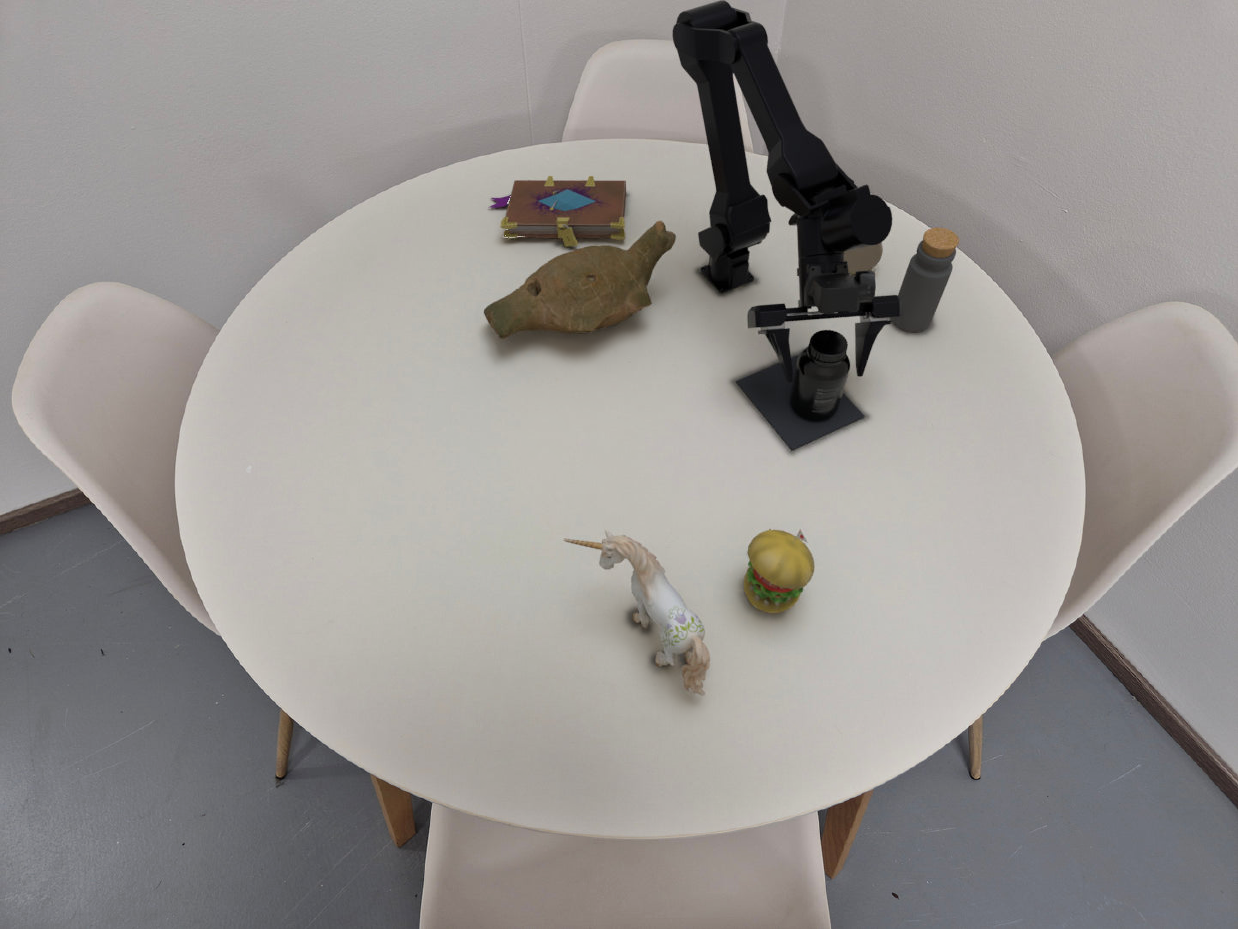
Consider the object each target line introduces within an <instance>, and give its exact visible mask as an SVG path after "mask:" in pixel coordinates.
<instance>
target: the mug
mask: <svg viewBox="0 0 1238 929" xmlns="http://www.w3.org/2000/svg"><path fill="white" fill-rule="evenodd" d="M883 247H884V246H883V242H881V243H880V244H877V245H873V246H868V247H864V248H859V249H855V250H850V251H844V260H845V261H847V265H848V272H849V274H851V275H855V274H856V272H857V271H866V270H872V269H873V268H875V267H876V266H877V265H878V263H880V261H881V259H882V256H883V251H884V248H883Z"/></svg>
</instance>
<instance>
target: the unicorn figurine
mask: <svg viewBox="0 0 1238 929" xmlns="http://www.w3.org/2000/svg"><path fill="white" fill-rule="evenodd" d="M604 533H605V536H606V538H603V539H602V540H601V543H600V542H595V541H588V540H579V539H574V538H573V539H571V538H563V539H562V540H563V542H565V543H568V544H573V545H577V546H581V547H585V548H590V549H595V550H598V551H599V550H600V551H601V553H600V556H599V560H598V564H599V567H601V568H602V569H603V570H611V569H613V568H615V564H616V565H618V564H621V563H622V562H623V561H624V560H627V561H628V562H629V563H630V565H631V567H632V569H633V571H632V574H631V576H630V582H631V584H630V587H631V588H630V590H631V594H632V596H633V597H634V598H635V601H636V607H637V610H638V612H634V613H633V615H632V619H633V621H634V622H635V623H636V624H639V623H641V626H642V628H644V629H648V626H649V623H650V620H652V621H653V622H654V623H655V624H656V625H657V626H658V627H660V633H659V637H660V642H661V643H662V645H663V651H661V650H658V651H657V652H656V655H655V660H654V663H655V665H656V666H657V667H662V666H668V665H671V666H672V667H675V666H676V664H677V663H676V654H679V655H680V654H683V657H684V660H685V662H686V664H683V665H682V667H681V671H682V678H683V688H684V689H685V691H686V692H689V691H690V689H691V691H692V693H694V694H698V695H699V696H702V697H703V696H705V695H706V691H704V690H703V688H704V683H703V681H705V680H706V677H707V676H706V673H707V671H708V669H709V668H710V661H711V655H710V650H709V648H708V647H707V645H706V644H705V643H704V642H703V641H704V638H705V635H706V632H705V631H706V630H705V626H704V624H703V622H702V620H701V619H700V618H699V616H698V615H697V614H696V613H695V612H694V611H692V610H691V609H689V608H688V607H687V605H686V603H685V601H684V599H683V597H682V596H681V595H680V593H679V592H678V591H677V590H676V588H675V587H674V586H673V585H672V584H671V583H670V582H669V580H668V577H667V576H666V575H665V573H666V570H665V569H664V567H663V566H662V565H661V564H660V561H659V560H658V559H657V556H656V555H655V554H654V553H653V552H651V551H649V549H648V548H647V547H646V546H644V545H642V543H641V542H639V541H637V540H634V539H633V538H632V537H629V536H627V535H625V534H621V535H613V534H612V533H611V532H610V531H609V530H607V529H606V530H605V532H604ZM690 650H691V651H690Z"/></svg>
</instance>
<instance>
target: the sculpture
mask: <svg viewBox="0 0 1238 929" xmlns="http://www.w3.org/2000/svg"><path fill="white" fill-rule="evenodd" d="M676 240H677V235H676V233H675V232H672V231H670V230H667V226H666V223H665V222H664V221H662V220H657V221H655V223H653V225H652V226H650V227H649V228H648V229H647V230H645V232H644V233H642V235H641V236H640V237H639V238H638V239H637V240H636V241H634V242H633V243H632V245H630V247H629V248H628V249H623V248H621V247H619V246H615V245H608V244H602V245H601V244H600V245H587V246H583V247H580V248H577V249H574V250H572V251H568V252H564V253H561V254H558V255H556V256H555V257H553V258H551V259H550V260H548V261H547V262H545V263H544V264H543V265H541V266H539V268H537V270H536V271H534V272H533V273H531V274H530V275H529V276H528V277H527V278H526V279H525V281H524V283H523V284H522V285H520V286H519V287H518V288H516V289H515V290H514V291H512V292H510V293H509V294H507V295H505V296H504V297H502V298H500V299H497V300H496V301H493V302H492V303H490V304H489V305H487V306H486V307H485V308H484V309H483V315H484V317H485V319H486V321H487V323H488V325H490V327H491V328H492V329H493V331H494V333H495V334H496V335H497V337H498V339H499V338H500V339H501V340H505V339H506V338H510V337H511V336H512V335H514V334H519V333H522V332H526V331H527V332H528V331H548V332H555V333H564V334H584V333H585V334H592V333H593V332H594V331H599V330H603V329H607V328H609V327H613V326H614V325H618V324H620V323H623V322H624V321H626V320H628V319H629V318H631V317H632V316H633V315H635V314H636V313H638V311H642V310H643V309H644V308H646V307H649V306H651V305H652V304H653V302H652V299H651V296H650V293H649V291H648V285H649V282H650V280H651V277H652V274H653V271H654V269H655V267H656V265H657V263H658V262H659V261H660V259H661V258H662V256H664V255H665V254H666V253H667V252H669V251H671V250H672V249H673V247H674V245H675V244H676Z"/></svg>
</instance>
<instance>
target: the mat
mask: <svg viewBox="0 0 1238 929" xmlns="http://www.w3.org/2000/svg"><path fill="white" fill-rule="evenodd" d="M799 354H800V353H799ZM799 354H796V355H794V356H791V361H792V368H793V379H794V374H795V369H796V364H797V360H798V357H799ZM735 383H736V385H737V386H738V387H739V388H740V390H741V391H742V392H743V393H744V395H745V396H746V397H747V398H748V399H749V400H750V401H751V403H752V404H753V406H755V408H756V409H757V410H758V412H760V414H761V415H762V416H763V417H764V419H765V420H766V421H767V423H769V425H770V426H771V427H772V428H773V430H774V431H775V432H776V433H777V434H778V436H779V437H780V438H781V439H782V441H784V443H785V444H786V445H787V446H788V448H789V449H790V450H791V451H794V450H795V451H796V450H798V449H799V448H801V447H803V446H805V445H807V444H810V443H811V442H815V441H816V440H819V439H821V438H823V437H825V436H827V435H829V434H832V433H834V432H836V431H838V430H840V429H842V428H844V427H847V426H849V425H851V424H853V423H855V422H857V421H859V420H862V419H864V418H865V414H864V413H863V411H861V410H860V409H859V408H858V407H857V406H856V404H855V403H853V401H852V400H851V399H850V398H849V397H848V396H847V395H846V394H845V393H844V392H843V395H842V398H841V402H840V405H839V408H838V410H837V412H836V413H835V414H834V415H833V416H832V417H830V418H829V419H826V420H823V421H810V420H806V419H804V418H802V417H800V416H799V415H797V414H796V413H795V412H794V411H793V409H792V407H791V405H790V394H791V389H792V384H793V382H788V381H787V378H786V376H785V374H784V371H783V369H782V367H781V364H780V362H779V361H778V362H777V363H775V364H772V365H770V366H768V367H765V368H763V369H761V370H758V371H756V372H754V373H751V374H749V375H747V376H743V377H741V378H740V379H737V380H735Z"/></svg>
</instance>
